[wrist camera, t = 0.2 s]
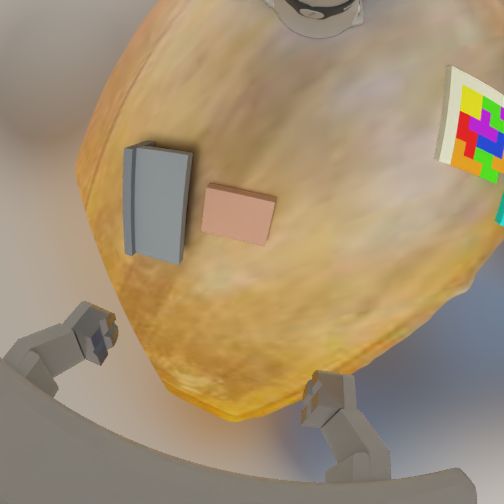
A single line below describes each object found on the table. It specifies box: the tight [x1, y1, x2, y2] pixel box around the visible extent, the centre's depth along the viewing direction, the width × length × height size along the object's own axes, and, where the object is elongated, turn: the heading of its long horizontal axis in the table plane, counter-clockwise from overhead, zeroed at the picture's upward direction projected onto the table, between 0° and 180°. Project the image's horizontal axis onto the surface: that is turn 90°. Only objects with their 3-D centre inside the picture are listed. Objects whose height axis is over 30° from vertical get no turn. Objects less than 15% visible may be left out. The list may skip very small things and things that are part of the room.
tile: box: [201, 183, 276, 247], centre depth 57 cm, size 10×14×4 cm
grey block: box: [123, 141, 193, 265], centre depth 55 cm, size 24×13×9 cm, turn 169°
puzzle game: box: [434, 66, 504, 226], centre depth 39 cm, size 30×3×30 cm
